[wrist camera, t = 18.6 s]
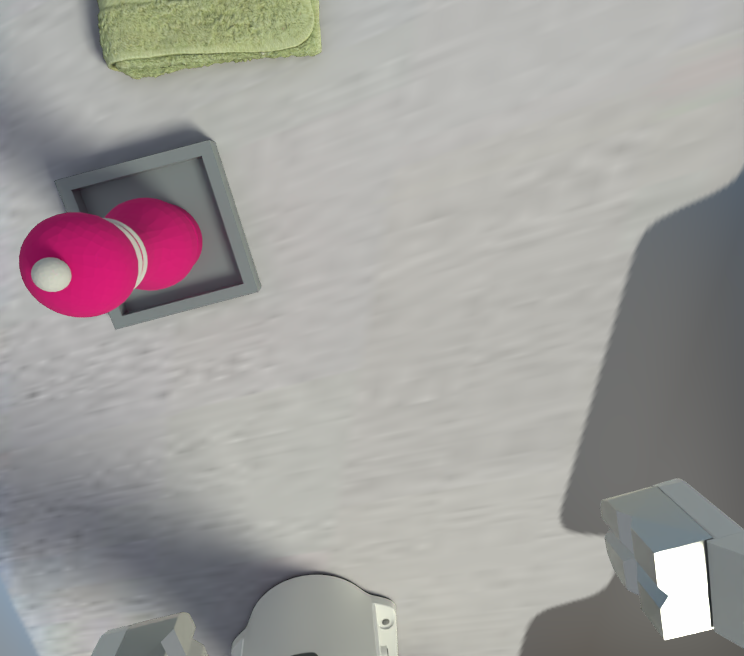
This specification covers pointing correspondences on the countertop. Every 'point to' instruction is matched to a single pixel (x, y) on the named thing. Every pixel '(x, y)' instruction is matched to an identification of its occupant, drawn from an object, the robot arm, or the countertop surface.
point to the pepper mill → (108, 255)
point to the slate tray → (195, 195)
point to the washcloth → (203, 32)
